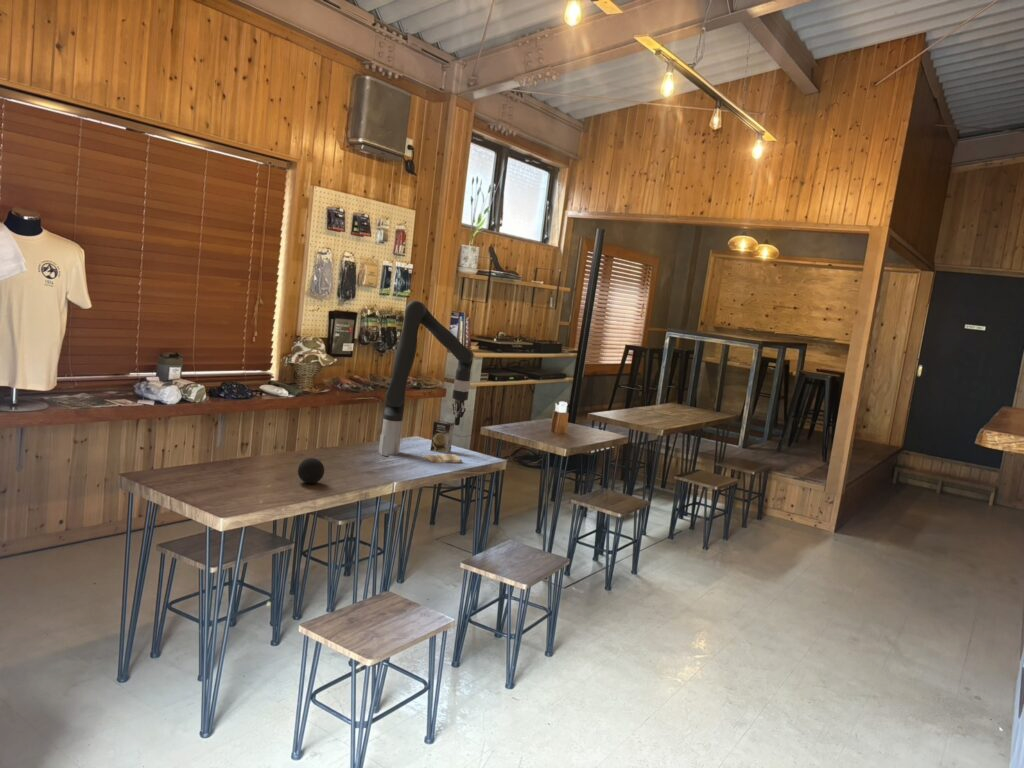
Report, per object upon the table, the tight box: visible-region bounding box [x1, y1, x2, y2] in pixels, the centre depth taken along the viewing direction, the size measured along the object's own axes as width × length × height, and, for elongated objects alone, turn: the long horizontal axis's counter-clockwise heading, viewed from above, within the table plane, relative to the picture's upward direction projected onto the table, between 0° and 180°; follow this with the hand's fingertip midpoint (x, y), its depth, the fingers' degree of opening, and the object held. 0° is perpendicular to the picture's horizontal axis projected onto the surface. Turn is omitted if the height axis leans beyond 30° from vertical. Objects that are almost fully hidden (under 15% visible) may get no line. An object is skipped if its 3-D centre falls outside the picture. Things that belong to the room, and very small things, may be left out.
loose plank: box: [436, 453, 463, 464], centre depth 350 cm, size 9×11×1 cm
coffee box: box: [430, 420, 455, 455], centre depth 368 cm, size 9×6×16 cm
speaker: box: [297, 457, 325, 485], centre depth 285 cm, size 10×10×10 cm
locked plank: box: [424, 454, 444, 464], centre depth 347 cm, size 6×11×1 cm, turn 24°
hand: (456, 425), depth 349 cm, fingers closed
